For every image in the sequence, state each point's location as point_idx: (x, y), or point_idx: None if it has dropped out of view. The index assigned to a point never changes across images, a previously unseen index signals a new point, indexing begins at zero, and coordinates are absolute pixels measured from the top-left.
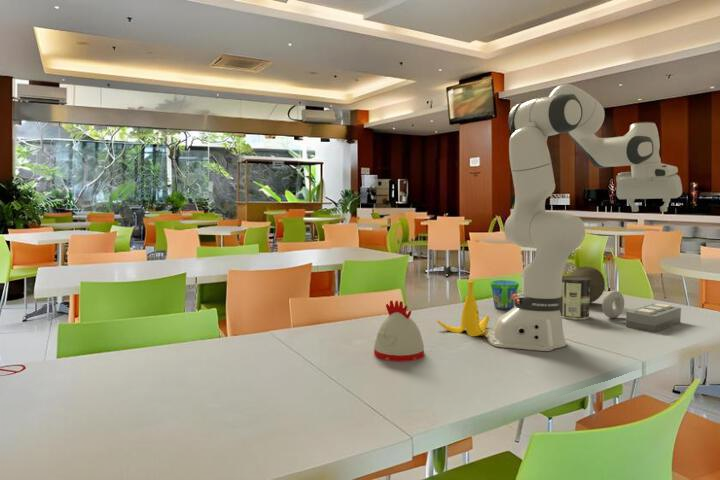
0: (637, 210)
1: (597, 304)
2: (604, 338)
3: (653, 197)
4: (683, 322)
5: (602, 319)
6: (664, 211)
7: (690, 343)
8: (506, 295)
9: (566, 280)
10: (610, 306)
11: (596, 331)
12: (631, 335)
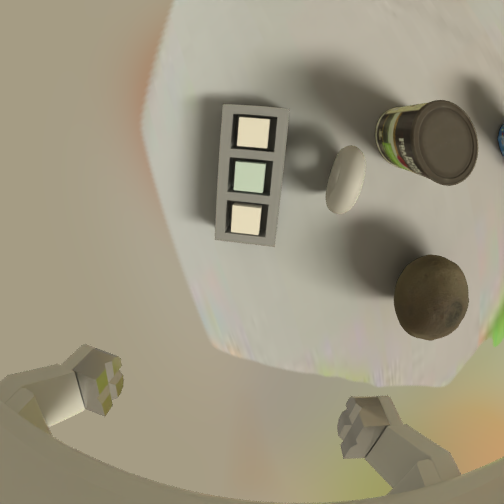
0: (344, 416)
1: None
2: (281, 4)
3: (79, 462)
4: None
5: None
6: (92, 348)
7: (159, 76)
8: None
9: (451, 102)
10: (341, 150)
11: (316, 38)
12: (253, 51)
